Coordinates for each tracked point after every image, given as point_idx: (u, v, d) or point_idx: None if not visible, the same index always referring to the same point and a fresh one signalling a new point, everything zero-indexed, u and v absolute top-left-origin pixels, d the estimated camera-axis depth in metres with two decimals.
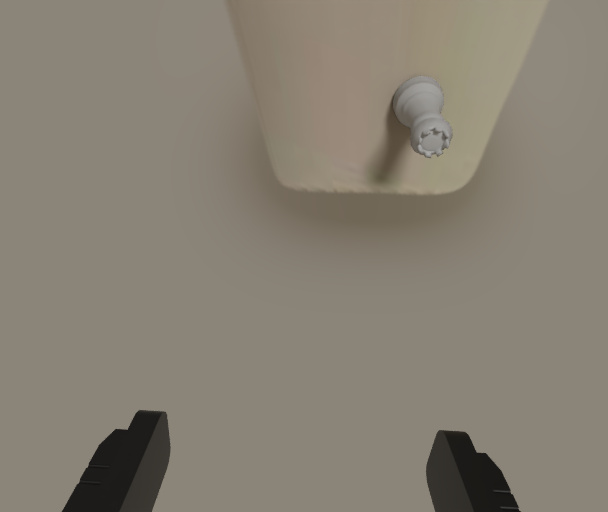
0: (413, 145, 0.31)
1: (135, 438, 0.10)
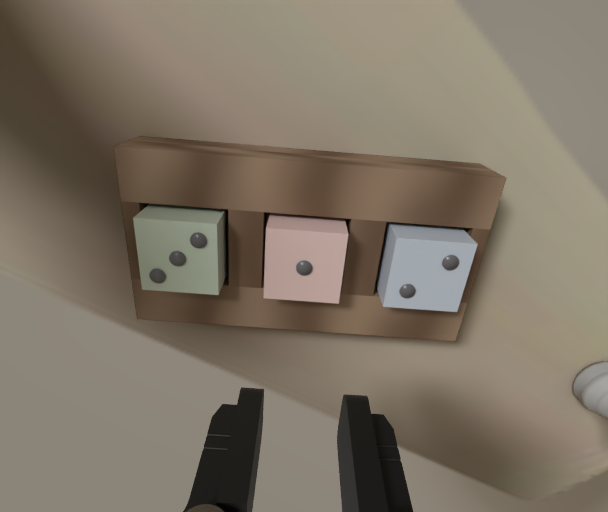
0: None
1: (246, 411, 0.11)
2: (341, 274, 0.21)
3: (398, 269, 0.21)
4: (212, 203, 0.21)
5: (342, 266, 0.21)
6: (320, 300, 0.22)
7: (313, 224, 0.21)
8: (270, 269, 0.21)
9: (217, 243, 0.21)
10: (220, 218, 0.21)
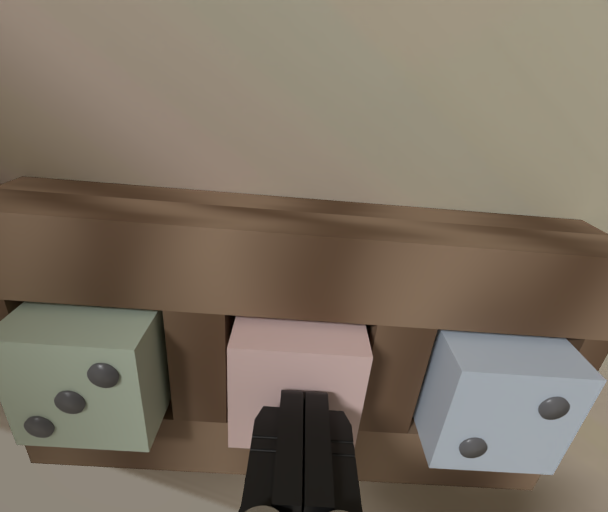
0: None
1: (289, 413, 0.11)
2: (359, 415, 0.13)
3: (460, 417, 0.12)
4: (133, 302, 0.12)
5: (361, 404, 0.12)
6: None
7: (311, 331, 0.12)
8: (237, 407, 0.12)
9: (139, 378, 0.12)
10: (146, 330, 0.12)
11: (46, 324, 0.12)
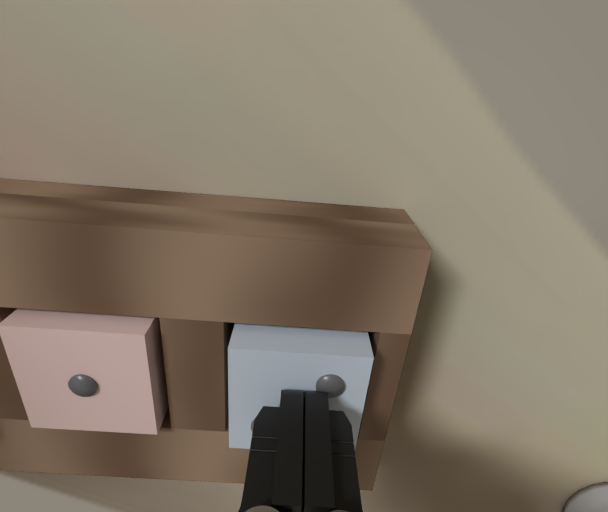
0: None
1: (289, 413, 0.11)
2: (149, 394, 0.13)
3: (242, 395, 0.12)
4: None
5: (148, 382, 0.12)
6: (126, 430, 0.13)
7: None
8: (27, 386, 0.13)
9: None
10: None
11: None
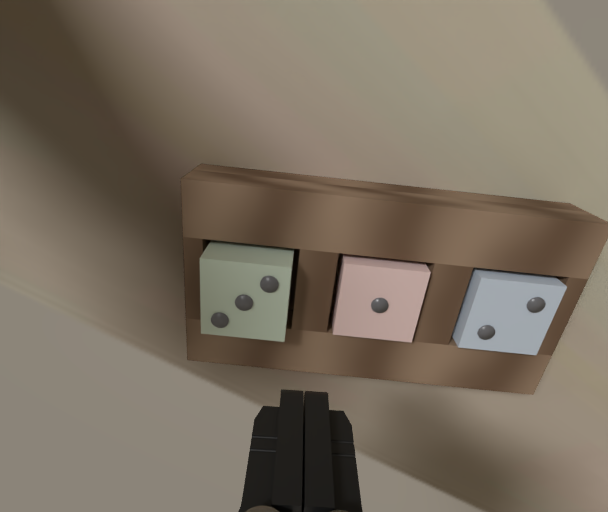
0: None
1: (289, 413, 0.11)
2: (418, 313, 0.20)
3: (479, 310, 0.20)
4: (283, 242, 0.19)
5: (420, 305, 0.20)
6: (392, 338, 0.21)
7: (390, 259, 0.20)
8: (343, 305, 0.20)
9: (289, 287, 0.19)
10: (292, 259, 0.19)
11: (232, 253, 0.19)
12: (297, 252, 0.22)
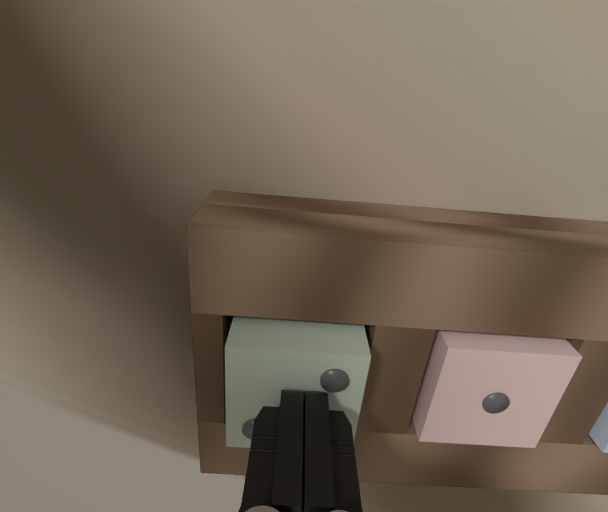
0: None
1: (289, 413, 0.11)
2: (552, 411, 0.13)
3: None
4: (350, 317, 0.12)
5: (557, 400, 0.13)
6: (507, 444, 0.14)
7: None
8: (440, 403, 0.13)
9: (364, 383, 0.12)
10: (365, 337, 0.12)
11: (273, 331, 0.12)
12: None
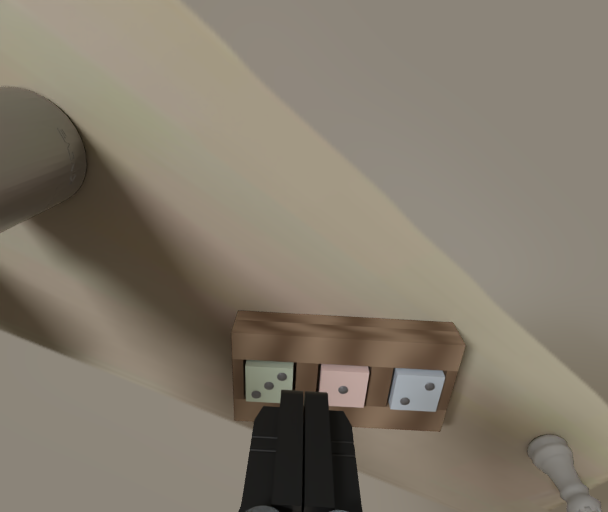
0: None
1: (289, 413, 0.11)
2: (365, 392, 0.36)
3: (399, 390, 0.36)
4: (287, 359, 0.35)
5: (365, 388, 0.36)
6: (352, 406, 0.37)
7: None
8: (323, 390, 0.36)
9: (292, 377, 0.36)
10: None
11: None
12: None
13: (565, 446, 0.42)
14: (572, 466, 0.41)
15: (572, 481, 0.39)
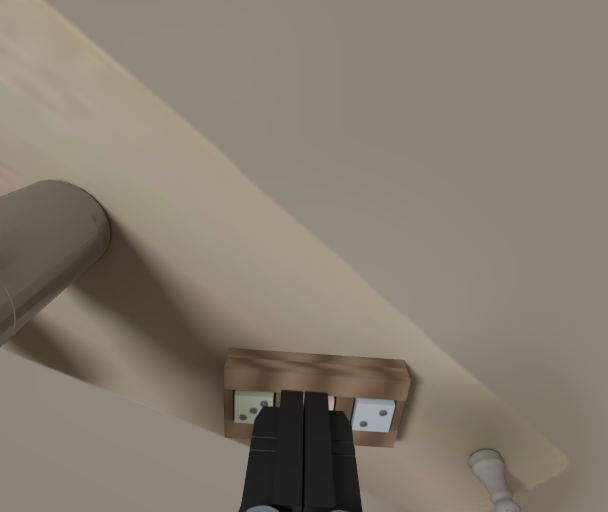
0: None
1: (289, 413, 0.11)
2: None
3: (358, 415, 0.44)
4: (268, 390, 0.44)
5: None
6: None
7: None
8: None
9: (272, 404, 0.44)
10: None
11: None
12: None
13: (498, 459, 0.51)
14: (502, 476, 0.50)
15: (499, 488, 0.48)
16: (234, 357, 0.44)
